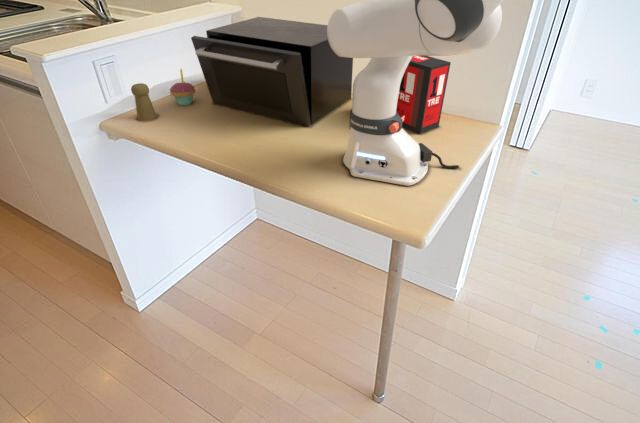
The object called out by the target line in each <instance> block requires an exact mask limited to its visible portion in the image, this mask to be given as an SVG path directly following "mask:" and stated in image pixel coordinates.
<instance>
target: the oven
mask: <svg viewBox="0 0 640 423" xmlns="http://www.w3.org/2000/svg"><path fill="white" fill-rule="evenodd" d="M327 26H328V24H320V23H312V22H305V21H297V20H288V19H281V18H273V17H264V16H256V17H251V18H249V19H245V20H241V21H237V22H233V23H230V24H225V25H222V26H218V27H214V28H211V29H207V30H205V32H206V38H211V39H218V40H224V41H230V42H236V43H242V44H249V45H255V46H261V47H267V48H274V49H280V50H286V51H292V52H298V53H301V59H302V66H303V73H304V80H305V87H306V93H307V100H308V107H309V114H310V121H311V125H310V126H313V125H314V124H316V123H317V122H318V121H320V120H321V119H323V118H325V117H326V116H328V115H329V114H330V113H332V112H334V111H335V110H336V109H337V108H339V107H341V106H342V105H344V104H345V103H347V102H348V101H350V100H351V99H352V90H353V70H354V69H353V66H354V58H348V57H340V56H338V55H337V54H336V53H335V52H334V51H333V50H332V48H331V47H330V44H329V42H328V38H327Z"/></svg>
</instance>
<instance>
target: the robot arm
mask: <svg viewBox="0 0 640 423" xmlns="http://www.w3.org/2000/svg"><path fill="white" fill-rule="evenodd" d="M504 1H505V0H367V1H359V2H356V3H355V2H354V3H352V4H348V5H345V6H342V7H340V8H337V9H335V10H334V11H333V12H332V13H331V15H330V17H329V20H328V22H327V25H328V26H327V38H328V42H329V44H330V47H331V48H332V50H333V51H334V52H335V53H336V54H337V55H338V56H340V57H348V58H353V59H370V60H369V62H368V63H367V65H366V66H365V67H364V68H362V70H361V71H359V73H357V75H356V76H355V77H354V79H353V82H352V98H351V99H352V101H351V102H352V103H351V109H350V111H349V120H348V121H349V122H348V125H349V126H348V129H349V136H348V141H347V146H346V150H345V153H344V156H343V158H342V161H343V165H345V167H346V168H347V169H349V172H350V175H351V176H352V177H356V178H360V179H366V180H372V181H378V182H384V183H388V184H393V185H394V184H395V185H400V186H407V187H410V186H414V185H416V184H417V183H419V182H420V181H422V180H423V179H424V177H425V176H426V175H427V172H428V170H429V163H428V162H431V161H432V158H433V157H432V156H434V157H435V158H436V159H437V160H438V162H439V165H440V166H441V167H442V168H446V169H459V167H460V165H458V164H456V165H447V164H444V162H443V161H442V160H443V159H442V158H441V157H440V155H438V154H437V153H435V152H433V150H431V149H430V148H429V147H428V146H427V145H425V144H424V143H422V142H420V143H419V142H417V140H415V139H414V138H413V137H412V136H410V134H409V133H408V132H407V131H406V130H405V128H404V127H402V122H403V121H404V117H405V116H403V117H402V118H401V117H400V116H399V115H398V113H397V111H396V109H397V102H398V95H399V89H400V84H401V81H402V78H403V75H404V73H405V70H406V68H407V66H408V64H409V62H410V61H411V59H412V57H413V56H429V57H448V56H449V57H450V56H459V55H464V54H469V53H473V52H477V51H479V50H482V49H485V48H486V47H487V46H489V45H490V44H491V43H492V42H493V41H494V40H495V39H496V38H497V35H498V34H499V32H500V29H501V27H502V21H503V9H502V5H501V4H502V3H503V2H504Z"/></svg>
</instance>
